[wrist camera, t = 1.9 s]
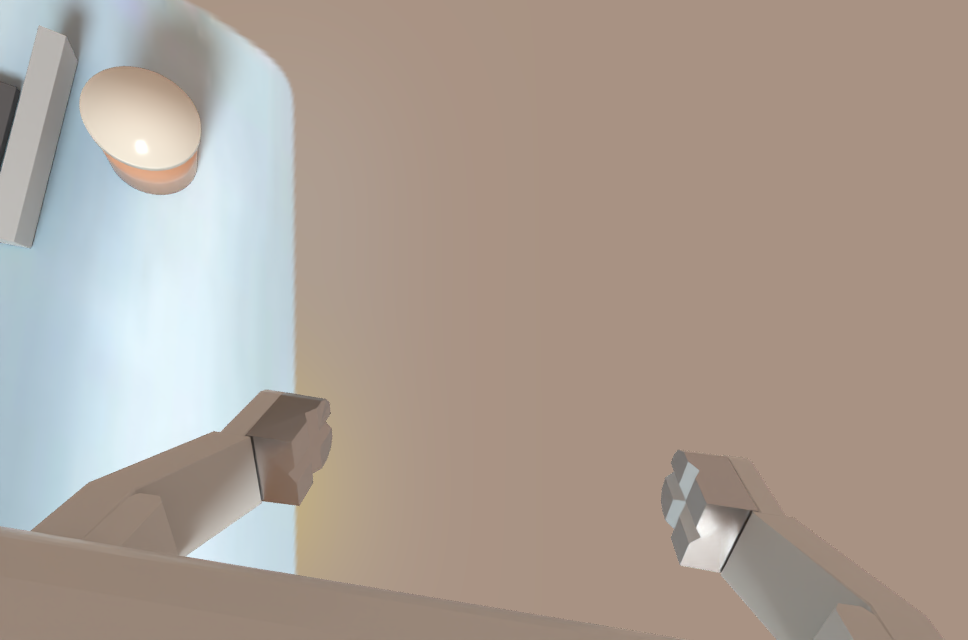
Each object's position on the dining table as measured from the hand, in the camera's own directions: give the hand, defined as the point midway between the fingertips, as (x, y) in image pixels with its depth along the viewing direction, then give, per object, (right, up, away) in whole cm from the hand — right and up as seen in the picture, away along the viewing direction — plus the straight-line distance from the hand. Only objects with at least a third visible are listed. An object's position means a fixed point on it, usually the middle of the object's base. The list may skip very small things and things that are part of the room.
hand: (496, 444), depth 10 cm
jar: (-30, +17, +29) cm, 45 cm away
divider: (-36, +17, +25) cm, 47 cm away
